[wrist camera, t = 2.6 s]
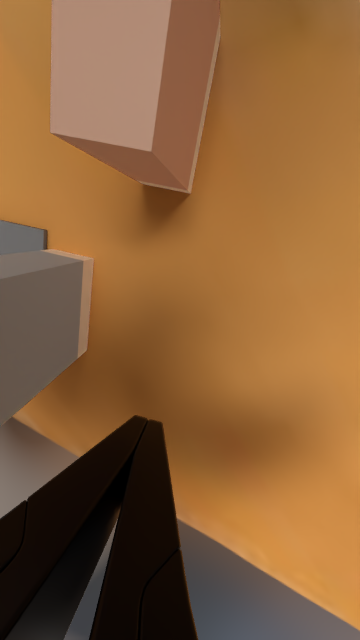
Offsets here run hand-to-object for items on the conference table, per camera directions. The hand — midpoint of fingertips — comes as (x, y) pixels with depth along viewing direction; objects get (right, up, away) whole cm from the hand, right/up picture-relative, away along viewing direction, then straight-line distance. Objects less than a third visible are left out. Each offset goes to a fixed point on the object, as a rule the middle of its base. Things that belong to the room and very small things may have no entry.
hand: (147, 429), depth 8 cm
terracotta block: (+1, +13, +4) cm, 13 cm away
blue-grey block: (-6, +4, +8) cm, 11 cm away
